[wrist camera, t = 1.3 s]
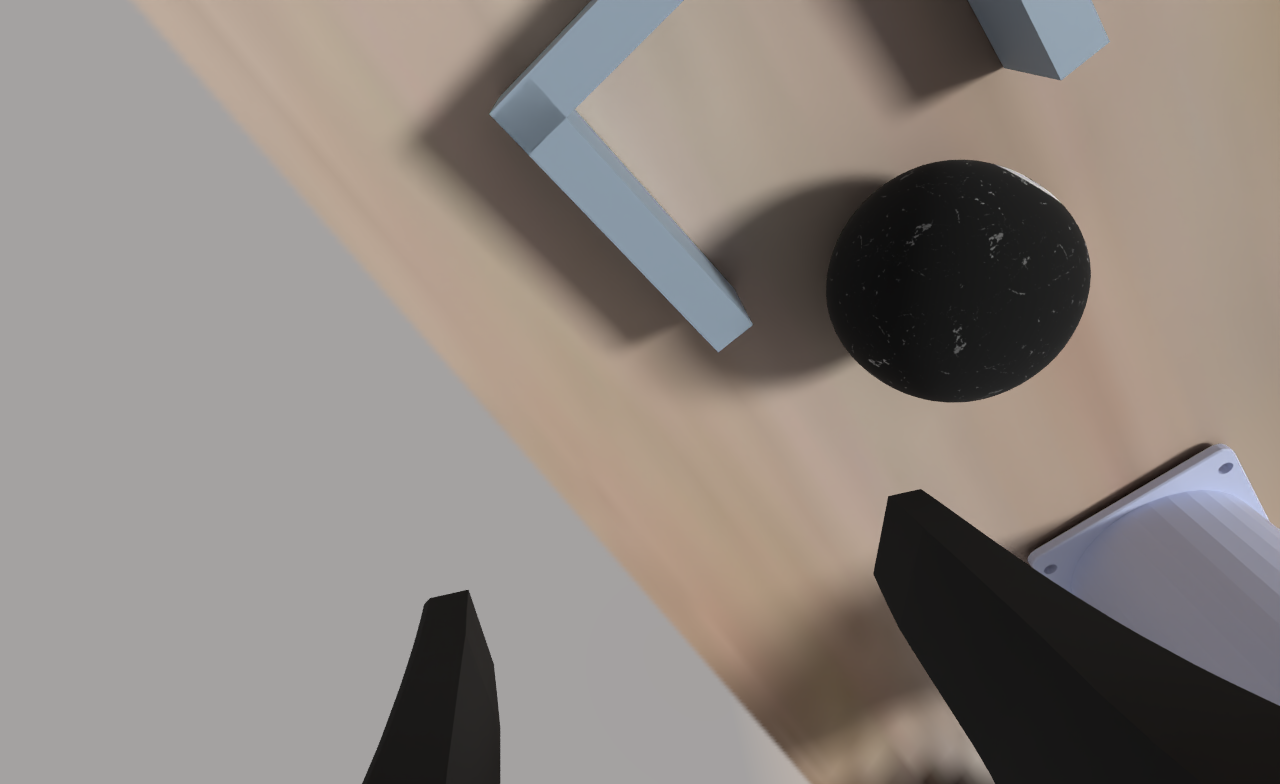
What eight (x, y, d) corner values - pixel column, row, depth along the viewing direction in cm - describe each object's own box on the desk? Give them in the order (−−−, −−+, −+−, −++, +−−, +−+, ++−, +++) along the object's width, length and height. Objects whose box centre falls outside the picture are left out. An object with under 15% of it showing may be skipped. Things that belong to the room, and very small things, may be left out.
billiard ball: (763, 287, 21) (825, 389, 16) (887, 98, 18) (1008, 146, 13) (913, 364, 23) (1012, 477, 18) (1045, 201, 20) (1205, 278, 15)
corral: (1045, 33, 18) (1109, 41, 16) (703, 314, 21) (718, 352, 19) (880, -304, 14) (934, -353, 12) (499, 97, 18) (489, 114, 15)
